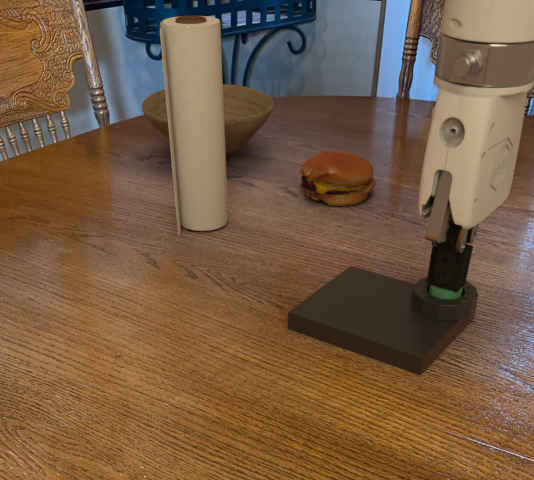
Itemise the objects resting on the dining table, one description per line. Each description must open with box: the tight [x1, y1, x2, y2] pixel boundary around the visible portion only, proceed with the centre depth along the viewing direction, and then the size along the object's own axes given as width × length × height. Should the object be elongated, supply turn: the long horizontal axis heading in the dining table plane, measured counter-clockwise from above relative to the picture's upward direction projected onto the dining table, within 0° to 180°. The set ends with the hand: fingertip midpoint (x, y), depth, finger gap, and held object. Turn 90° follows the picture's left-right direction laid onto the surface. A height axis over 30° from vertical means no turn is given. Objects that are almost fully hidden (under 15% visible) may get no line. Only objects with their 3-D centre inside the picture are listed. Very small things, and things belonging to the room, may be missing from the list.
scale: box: [287, 265, 479, 376], centre depth 67 cm, size 14×12×4 cm
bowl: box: [141, 83, 275, 158], centre depth 102 cm, size 18×18×8 cm
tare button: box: [429, 285, 463, 299], centre depth 66 cm, size 3×3×2 cm
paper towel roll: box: [159, 15, 229, 236], centre depth 79 cm, size 7×6×21 cm
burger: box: [299, 150, 376, 207], centre depth 92 cm, size 10×9×5 cm
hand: (445, 285), depth 65 cm, fingers closed
